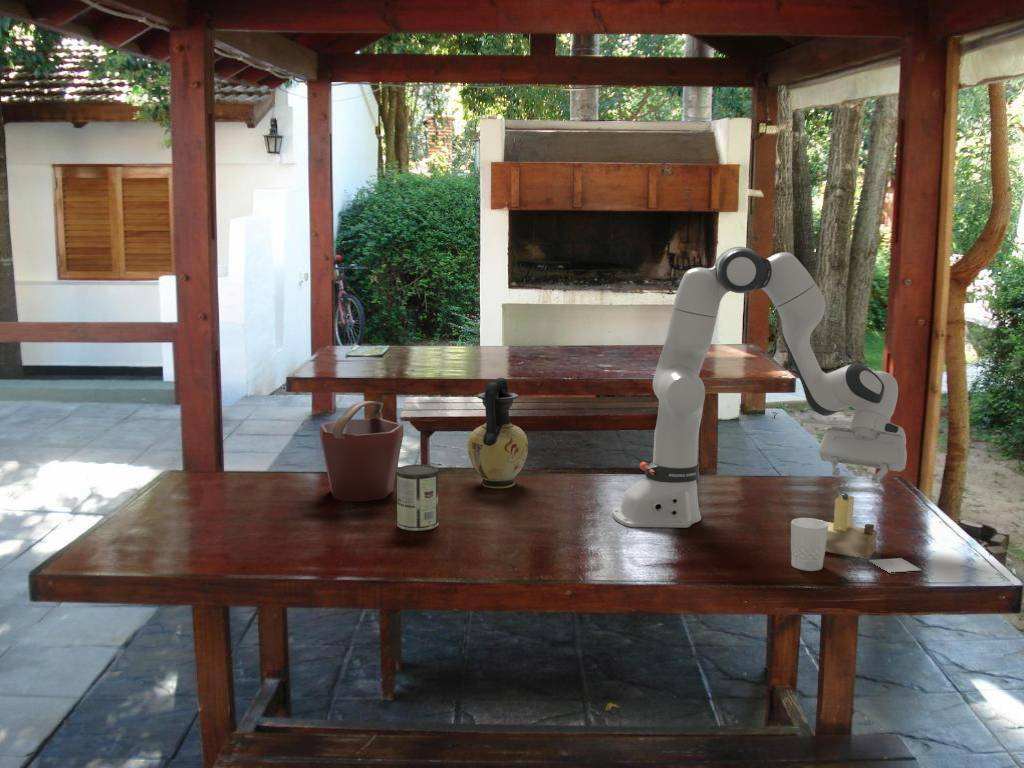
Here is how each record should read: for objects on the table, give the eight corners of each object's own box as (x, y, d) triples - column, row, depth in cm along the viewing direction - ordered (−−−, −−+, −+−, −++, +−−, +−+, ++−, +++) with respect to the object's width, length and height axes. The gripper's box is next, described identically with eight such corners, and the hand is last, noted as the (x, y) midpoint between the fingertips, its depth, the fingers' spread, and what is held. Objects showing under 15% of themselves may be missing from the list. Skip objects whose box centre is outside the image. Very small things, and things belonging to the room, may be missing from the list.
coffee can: (409, 516, 272) (409, 462, 269) (445, 522, 267) (446, 467, 265) (388, 527, 262) (388, 471, 260) (425, 533, 258) (425, 476, 256)
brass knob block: (833, 530, 249) (835, 495, 247) (838, 525, 253) (841, 491, 251) (846, 532, 247) (848, 497, 246) (851, 527, 251) (854, 493, 250)
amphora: (472, 475, 313) (473, 374, 308) (529, 478, 311) (531, 375, 306) (463, 491, 296) (464, 384, 291) (524, 494, 294) (526, 386, 289)
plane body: (806, 547, 252) (808, 519, 250) (816, 540, 257) (817, 512, 256) (867, 559, 244) (869, 529, 243) (875, 551, 250) (877, 522, 249)
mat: (888, 573, 235) (888, 571, 235) (869, 561, 242) (869, 559, 242) (921, 571, 236) (921, 569, 236) (901, 559, 244) (901, 558, 244)
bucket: (364, 477, 309) (364, 392, 304) (423, 490, 296) (423, 401, 292) (301, 495, 289) (300, 404, 285) (361, 510, 276) (360, 415, 272)
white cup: (783, 560, 242) (786, 517, 241) (817, 560, 243) (820, 517, 241) (795, 572, 235) (798, 528, 233) (830, 572, 235) (833, 528, 234)
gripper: (823, 418, 264) (809, 465, 258) (910, 429, 253) (897, 477, 247) (828, 433, 269) (813, 479, 262) (913, 444, 258) (900, 492, 251)
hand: (854, 478), depth 255 cm, fingers open, 8 cm apart
